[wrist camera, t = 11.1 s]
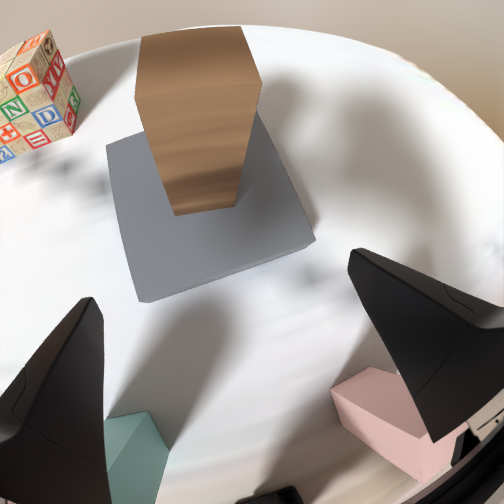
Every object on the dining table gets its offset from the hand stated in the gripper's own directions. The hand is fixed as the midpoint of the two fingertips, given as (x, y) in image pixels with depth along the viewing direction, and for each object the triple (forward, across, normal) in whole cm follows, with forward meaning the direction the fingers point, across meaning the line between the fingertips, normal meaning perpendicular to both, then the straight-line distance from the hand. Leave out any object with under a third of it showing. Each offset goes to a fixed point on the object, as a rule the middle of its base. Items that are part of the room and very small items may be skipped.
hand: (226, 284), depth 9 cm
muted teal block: (+2, +10, +18) cm, 20 cm away
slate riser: (+16, 0, +3) cm, 16 cm away
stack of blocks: (+26, +24, -6) cm, 36 cm away
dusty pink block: (+1, -10, +18) cm, 21 cm away
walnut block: (+14, 0, +1) cm, 14 cm away
